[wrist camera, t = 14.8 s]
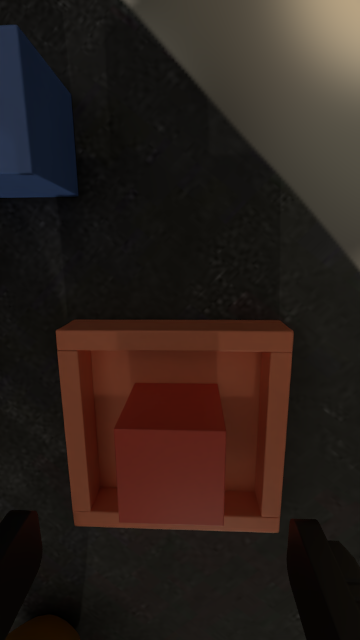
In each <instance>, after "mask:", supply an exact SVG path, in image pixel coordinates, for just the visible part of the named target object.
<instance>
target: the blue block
mask: <svg viewBox="0 0 360 640" xmlns="http://www.w3.org/2000/svg"><path fill="white" fill-rule="evenodd" d="M77 196H78V182H77V168H76V155H75V141H74V128H73V114H72V100H71V94H70V93H69V91H68V90H67V89H66V88H65V86H64V85H63V84H62V82H61V81H60V80H59V79H58V77H57V76H56V75H55V73H54V72H53V71H52V69H51V68H50V67H49V66H48V64H47V63H46V62H45V60H44V59H43V58H42V57H41V55H40V54H39V53H38V51H37V50H36V49H35V47H34V46H33V45H32V44H31V42H30V41H29V40H28V38H27V37H26V36H25V35H24V33H23V32H22V31H21V29H20V28H19V27H18V26H17V25H0V198H22V197H77Z"/></svg>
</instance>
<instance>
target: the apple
mask: <svg viewBox="0 0 360 640" xmlns="http://www.w3.org/2000/svg"><path fill="white" fill-rule="evenodd" d="M5 640H80V637H79V634H78V633H77V632H76V630H75V629H74V628H73V627H72V626H71V625H70V624H69V623H68V622H67V621H65V620H64V619H62V618H60V617H58V616H55V615H50V614H48V615H42V616H37V617H35V618H33V619H31V620H29V621H27V622H26V623H24V624H22V625H21V626H19V627H18V628H16V629H15V630H13V631H12V632H11V633H9V634H8V635H7V637H6V639H5Z"/></svg>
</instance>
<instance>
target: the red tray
mask: <svg viewBox="0 0 360 640" xmlns="http://www.w3.org/2000/svg"><path fill="white" fill-rule="evenodd" d="M293 335H294V332H293V331H292V330H291V329H290V328H289V327H287V326H286V325H285V324H283V323H282V322H281V321H280V320H73V321H71V322H70V323H68V324H66V325H65V326H63V327H61V328H59V329H57V330H56V341H57V349H58V351H57V354H58V364H59V374H60V385H61V395H62V405H63V416H64V426H65V436H66V446H67V457H68V467H69V477H70V488H71V498H72V508H73V516H74V525H75V526H90V527H120V528H149V529H179V530H209V531H239V532H269V533H278V532H279V524H280V511H281V498H282V484H283V471H284V457H285V444H286V430H287V417H288V404H289V390H290V377H291V363H292V352H291V351H292V348H293ZM135 383H193V384H218V388H219V393H220V399H221V404H222V410H223V415H224V420H225V426H226V431H227V433H226V469H225V505H224V526H203V525H172V524H142V523H119V513H118V496H117V479H116V463H115V446H114V427H115V425H116V423H117V421H118V418H119V416H120V414H121V412H122V410H123V408H124V405H125V403H126V401H127V399H128V397H129V394H130V392H131V390H132V388H133V386H134V384H135Z"/></svg>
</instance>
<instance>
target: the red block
mask: <svg viewBox="0 0 360 640" xmlns="http://www.w3.org/2000/svg"><path fill="white" fill-rule="evenodd" d="M226 433H227V431H226V426H225V420H224V415H223V410H222V404H221V399H220V393H219V388H218V384H193V383H135V384H134V386H133V388H132V390H131V392H130V394H129V397H128V399H127V401H126V403H125V405H124V408H123V410H122V412H121V414H120V416H119V418H118V421H117V423H116V425H115V427H114V446H115V463H116V479H117V496H118V513H119V523H142V524H172V525H203V526H224V505H225V469H226Z"/></svg>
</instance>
